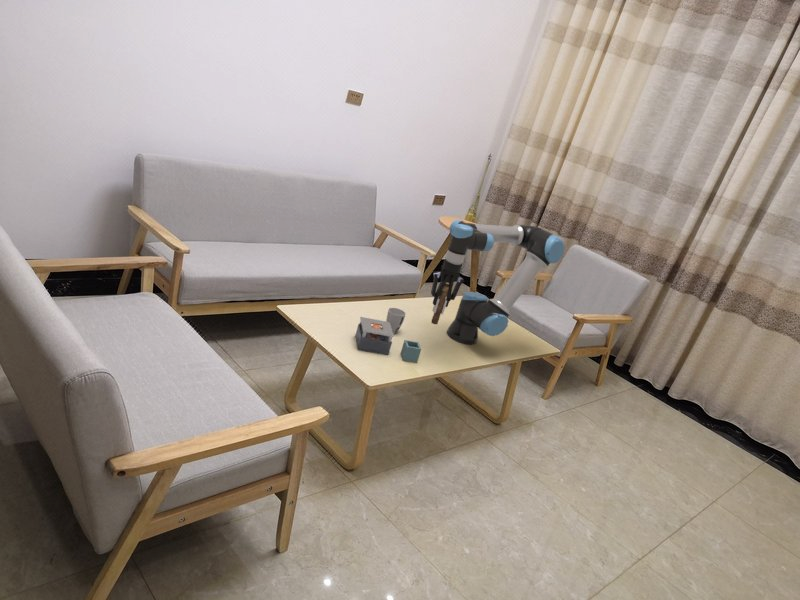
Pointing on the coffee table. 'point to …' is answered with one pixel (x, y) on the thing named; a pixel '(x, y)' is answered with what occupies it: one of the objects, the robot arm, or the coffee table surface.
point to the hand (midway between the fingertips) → (437, 312)
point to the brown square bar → (440, 304)
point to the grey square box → (374, 336)
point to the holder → (410, 351)
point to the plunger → (376, 328)
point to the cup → (395, 318)
